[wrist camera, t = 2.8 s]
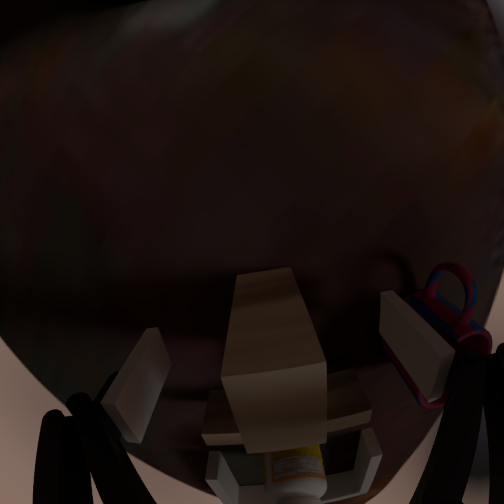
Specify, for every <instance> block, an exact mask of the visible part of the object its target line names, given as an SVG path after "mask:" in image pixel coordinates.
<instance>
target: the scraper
mask: <svg viewBox="0 0 504 504" xmlns="http://www.w3.org/2000/svg"><path fill="white" fill-rule="evenodd" d="M221 380H222V383H223V386H224V389H214V390H209V395H208V400H207V406H206V411H205V416H204V422H203V427H202V432H201V435H202V437H203V439H204V441H205V443H206V445H236V444H244V446H245V449H246V451H247V454H249V453H262V452H272V451H280V450H288V449H295V448H301V447H307V446H312V445H318V444H323V443H327V432H332V431H336V430H340V429H344V428H349V427H352V426H356V425H360V424H364V423H367V422H370V418H371V412H372V408H371V406H370V404H369V402H368V399H367V397H366V395H365V393H364V391H363V388H362V386H361V384H360V382H359V380H358V378H357V375H356V373H355V371H354V369H353V368H352V369H347V370H343V371H339V372H334V373H330V374H327V368H326V359H325V357H324V354H323V351H322V348H321V346H320V343H319V340H318V338H317V335H316V332H315V329H314V327H313V324H312V321H311V319H310V316H309V314H308V311H307V308H306V306H305V303H304V300H303V298H302V295H301V293H300V290H299V288H298V285H297V282H296V280H295V277H294V275H293V272H292V270H291V267H284V268H278V269H272V270H266V271H259V272H253V273H247V274H240V275H237V278H236V284H235V290H234V296H233V302H232V308H231V314H230V321H229V327H228V333H227V339H226V345H225V352H224V358H223V364H222V371H221Z"/></svg>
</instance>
